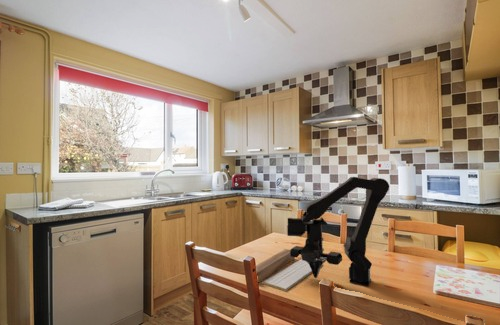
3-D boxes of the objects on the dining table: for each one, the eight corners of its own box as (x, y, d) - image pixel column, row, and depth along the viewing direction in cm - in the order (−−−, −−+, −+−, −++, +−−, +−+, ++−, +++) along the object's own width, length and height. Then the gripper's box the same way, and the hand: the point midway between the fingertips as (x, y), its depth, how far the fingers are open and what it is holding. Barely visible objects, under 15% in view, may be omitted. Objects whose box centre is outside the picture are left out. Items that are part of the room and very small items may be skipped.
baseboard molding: (257, 283, 96) (285, 293, 89) (257, 276, 96) (285, 284, 89) (298, 260, 120) (322, 266, 113) (298, 254, 120) (322, 259, 113)
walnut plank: (294, 258, 121) (294, 250, 121) (258, 283, 95) (257, 272, 95) (285, 256, 124) (285, 248, 124) (247, 280, 98) (246, 270, 98)
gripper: (282, 237, 97) (283, 279, 96) (332, 244, 86) (334, 292, 86) (295, 231, 106) (296, 269, 106) (341, 237, 95) (343, 280, 95)
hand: (315, 277), depth 98 cm, fingers closed
